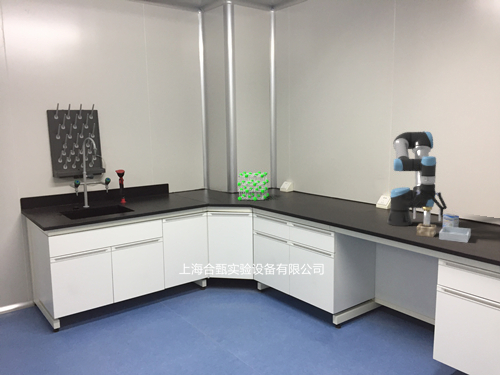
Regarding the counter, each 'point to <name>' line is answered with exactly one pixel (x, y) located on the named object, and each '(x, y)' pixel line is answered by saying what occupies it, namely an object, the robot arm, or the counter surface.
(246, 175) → the molecular structure model
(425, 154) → the robot arm
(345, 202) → the counter surface
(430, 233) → the holder block
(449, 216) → the medicine box
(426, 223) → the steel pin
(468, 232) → the tray
